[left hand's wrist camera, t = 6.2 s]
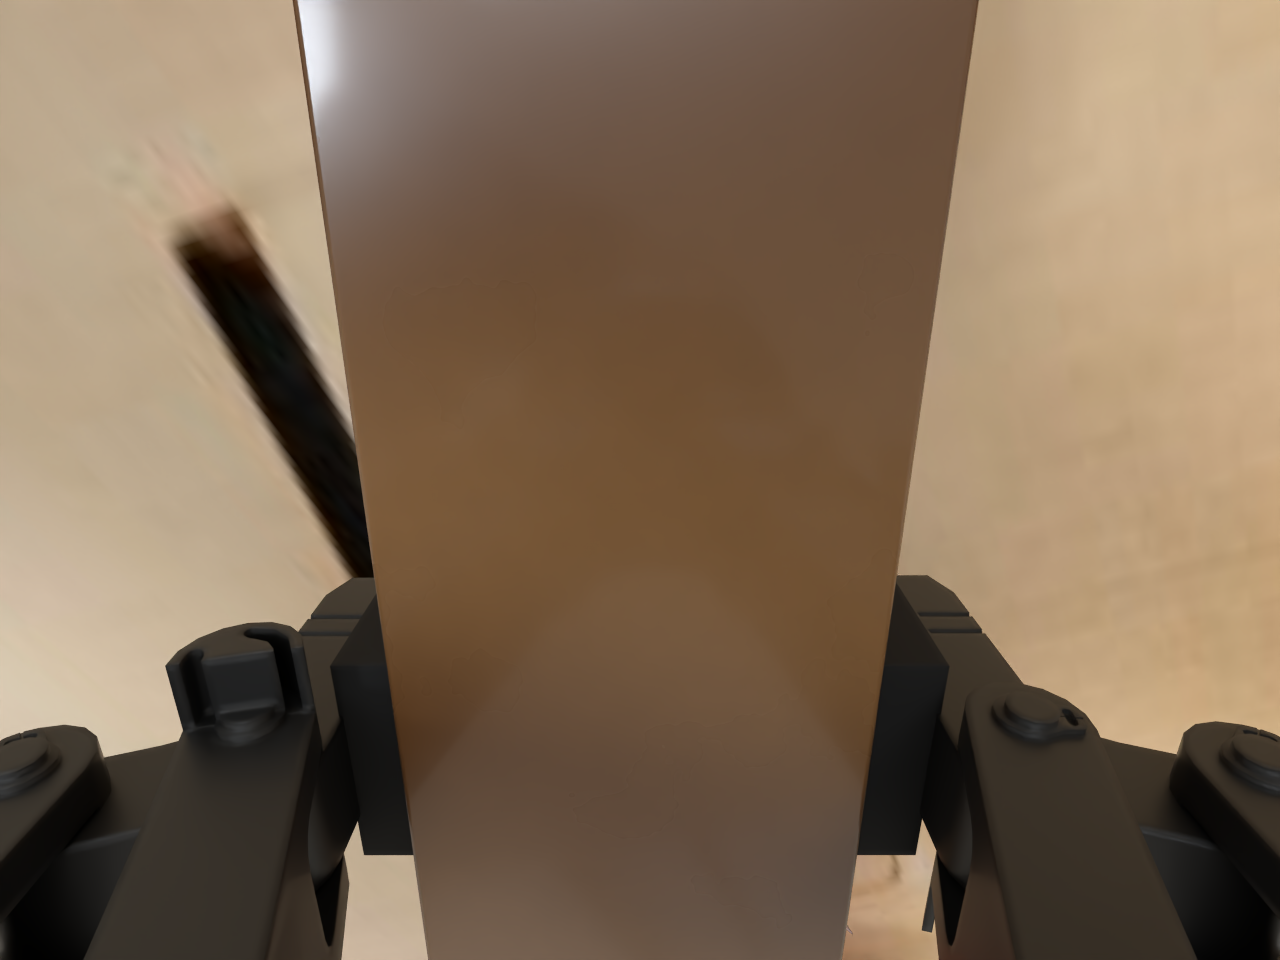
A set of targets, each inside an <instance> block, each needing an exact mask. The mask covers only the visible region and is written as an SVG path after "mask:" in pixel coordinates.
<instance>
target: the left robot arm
mask: <svg viewBox="0 0 1280 960" xmlns="http://www.w3.org/2000/svg"><path fill="white" fill-rule="evenodd" d="M165 667H166V670H167V674H168V678H169V681H170V685H171V688H172V692H173V696H174V699H175V703H176V706H177V710H178V714H179V717H180V721H181V724H182V728H183V732H182V735H181V737H180V739H179V741H177V742H173V743H170V744H166V745H162V746H158V747H153V748H148V749H143V750H138V751H134V752H129V753H124V754H119V755H114V756H110V757H105V758H104V757H103V754H102V751H101V748H100V745H99V742H98V739H97V736H96V735H94V734H93V733H92V732H90V731H89V730H88V729H86V728H84V727H77V726H70V725H59V726H52V727H44V728H37V729H33V730H29V731H24V733H21V734H20V733H18V734H15V735H12V736H9V737H7V738H4V739H2V740H1V741H0V960H341V957H342V948H343V938H344V929H345V919H346V909H347V900H348V890H349V879H348V873H347V867H346V862H345V856H344V851H345V849H346V847H347V844H348V842H349V840H350V837H351V835H352V833H353V831H354V828H355V826H356V824H357V822H358V824H359V830H360V835H361V841H362V846H363V852H364V855H413V848H412V840H411V833H410V826H409V819H408V812H407V805H406V798H405V791H404V784H403V777H402V770H401V763H400V756H399V749H398V741H397V734H396V727H395V720H394V713H393V706H392V699H391V692H390V685H389V678H388V671H387V664H386V657H385V650H384V642H383V635H382V628H381V621H380V614H379V607H378V600H377V593H376V586H375V579H374V578H352V579H350V580H349V581H347V582H346V583H344V584H343V585H341V586H339V587H338V588H336V589H335V590H333V591H332V592H330V593H329V594H327V595H326V596H325V597H324V599H323V600H322V601H321V603H320V604H319V605H318V607H317V608H316V609H315V611H314V612H313V613H312V615H311V619H308V620H307V621H306V622H305V624H304V625H303V626H302V628H301V629H300V630H299V632H297V631H296V630H295V629H293V628H292V627H291V626H287V625H283V624H278V623H273V622H263V623H246V624H242V625H237V626H233V627H228V628H223V629H221V630H218V631H216V632H213V633H211V634H208V635H206V636H203V637H200V638H198V639H196V640H195V641H193V642H192V643H190V644H189V645H187V646H186V647H184V648H182V649H181V650H179V651H178V652H177V653H176V654H175V655H174V656H173V658H172V659H171V660H170V661H169V662H168V663H167V664H166V666H165ZM922 819H923V821H924V823H925V826H926V828H927V830H928V832H929V835H930V837H931V839H932V841H933V844H934V846H935V848H936V850H937V851H936V856H935V862H934V867H933V872H932V877H931V882H930V887H929V892H928V898H927V903H926V908H925V913H924V919H923V925H922V930H923V931H927V932H932V929H933V924H934V919H935V927H936V936H937V946H938V955H939V960H1280V737H1279V736H1277V735H1275V734H1273V733H1270V732H1267V731H1264V730H1258V729H1257V728H1254V727H1250V726H1245V725H1240V724H1232V723H1224V722H1216V721H1215V722H1208V723H1201V724H1195V725H1194V726H1192V727H1191V728H1190V729H1188V730H1187V731H1186V732H1184V734H1183V737H1182V740H1181V743H1180V746H1179V749H1178V752H1177V754H1172V753H1167V752H1162V751H1157V750H1153V749H1148V748H1143V747H1138V746H1133V745H1128V744H1124V743H1119V742H1115V741H1111V740H1108V739H1104V738H1100V735H1099V733H1098V731H1097V729H1096V728H1095V726H1094V725H1093V724H1092V722H1091V721H1090V720H1089V718H1088V717H1087V715H1086V714H1085V713H1083V712H1082V711H1081V710H1079V709H1078V708H1077V707H1075V706H1074V705H1073V704H1071V703H1070V702H1069V701H1067V700H1066V699H1063V698H1061V697H1059V696H1057V695H1055V694H1052V693H1050V692H1048V691H1046V690H1044V689H1040V688H1036V687H1032V686H1028V685H1024V684H1023V683H1022V681H1021V680H1020V679H1019V678H1018V676H1017V675H1016V674H1015V672H1014V671H1013V670H1012V668H1011V667H1010V666H1009V664H1008V663H1007V662H1006V660H1005V659H1004V658H1003V657H1002V655H1001V654H1000V653H999V651H998V650H997V649H996V647H995V646H994V645H993V643H992V642H991V641H990V639H989V638H988V637H987V635H986V634H985V633H982V629H981V628H980V626H979V625H978V624H977V622H976V621H975V620H974V618H973V617H969V612H968V611H967V609H966V608H965V607H964V605H963V604H962V603H961V601H960V600H959V599H958V597H957V596H956V595H955V593H954V592H952V591H951V590H949V589H948V588H946V587H944V586H943V585H941V584H940V583H938V582H937V581H935V580H934V579H932V578H930V577H929V576H927V575H897V578H896V585H895V592H894V599H893V606H892V613H891V620H890V627H889V634H888V641H887V648H886V655H885V662H884V669H883V676H882V683H881V690H880V697H879V704H878V711H877V718H876V725H875V732H874V739H873V746H872V753H871V760H870V767H869V774H868V781H867V788H866V795H865V802H864V809H863V816H862V823H861V830H860V837H859V844H858V851H857V855H916V849H917V844H918V838H919V833H920V827H921V822H922Z"/></svg>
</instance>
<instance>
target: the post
mask: <svg viewBox="0 0 1280 960" xmlns="http://www.w3.org/2000/svg"><path fill="white" fill-rule="evenodd" d="M978 3H979V0H293V6H294V13H295V20H296V27H297V34H298V41H299V48H300V56H301V63H302V70H303V77H304V84H305V91H306V98H307V105H308V112H309V119H310V126H311V133H312V140H313V147H314V155H315V162H316V169H317V176H318V183H319V190H320V197H321V204H322V211H323V218H324V225H325V232H326V239H327V246H328V254H329V261H330V268H331V275H332V282H333V289H334V296H335V303H336V310H337V317H338V324H339V331H340V338H341V345H342V353H343V360H344V367H345V374H346V381H347V388H348V395H349V402H350V409H351V416H352V423H353V430H354V437H355V444H356V452H357V459H358V466H359V473H360V480H361V487H362V494H363V501H364V508H365V515H366V522H367V529H368V536H369V543H370V551H371V558H372V565H373V572H374V579H375V586H376V593H377V600H378V607H379V614H380V621H381V628H382V635H383V642H384V650H385V657H386V664H387V671H388V678H389V685H390V692H391V699H392V706H393V713H394V720H395V727H396V734H397V741H398V749H399V756H400V763H401V770H402V777H403V784H404V791H405V798H406V805H407V812H408V819H409V826H410V833H411V840H412V848H413V855H414V862H415V869H416V876H417V883H418V890H419V897H420V904H421V911H422V918H423V925H424V932H425V940H426V947H427V954H428V960H842V956H843V949H844V942H845V935H846V928H847V921H848V914H849V907H850V900H851V893H852V886H853V879H854V872H855V865H856V858H857V851H858V844H859V837H860V830H861V823H862V816H863V809H864V802H865V795H866V788H867V781H868V774H869V767H870V760H871V753H872V746H873V739H874V732H875V725H876V718H877V711H878V704H879V697H880V690H881V683H882V676H883V669H884V662H885V655H886V648H887V641H888V634H889V627H890V620H891V613H892V606H893V599H894V592H895V585H896V578H897V571H898V564H899V557H900V550H901V543H902V536H903V529H904V522H905V515H906V508H907V501H908V494H909V487H910V480H911V473H912V466H913V459H914V452H915V445H916V438H917V431H918V424H919V417H920V410H921V403H922V396H923V389H924V382H925V375H926V368H927V361H928V354H929V347H930V340H931V333H932V326H933V319H934V312H935V305H936V298H937V291H938V284H939V277H940V270H941V262H942V255H943V248H944V241H945V234H946V227H947V220H948V213H949V206H950V199H951V192H952V185H953V178H954V171H955V164H956V157H957V150H958V143H959V136H960V129H961V122H962V115H963V108H964V101H965V94H966V87H967V80H968V73H969V66H970V59H971V52H972V45H973V38H974V31H975V24H976V17H977V10H978Z"/></svg>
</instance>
